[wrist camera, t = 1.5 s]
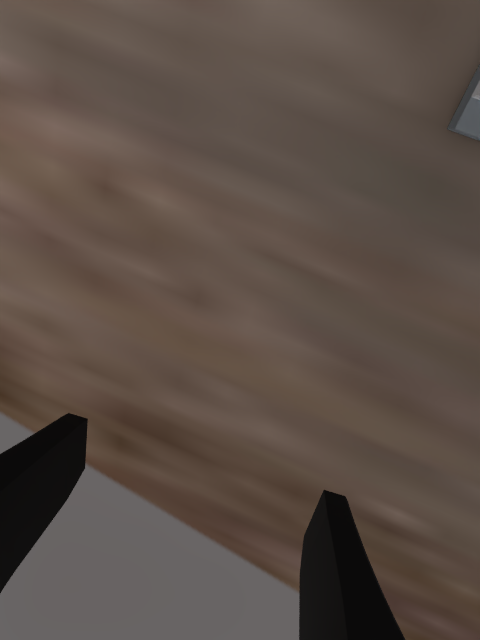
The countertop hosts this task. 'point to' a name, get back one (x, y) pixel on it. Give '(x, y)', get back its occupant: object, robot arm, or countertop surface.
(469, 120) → the rail mat
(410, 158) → the countertop surface
